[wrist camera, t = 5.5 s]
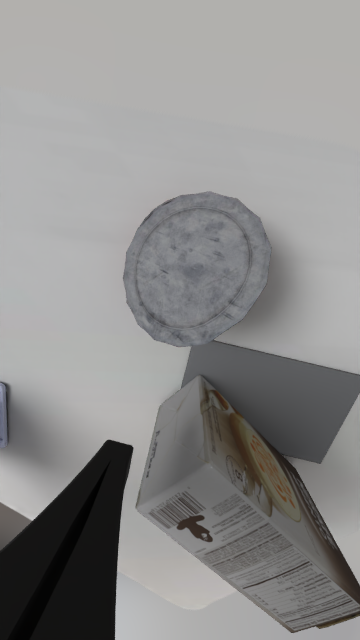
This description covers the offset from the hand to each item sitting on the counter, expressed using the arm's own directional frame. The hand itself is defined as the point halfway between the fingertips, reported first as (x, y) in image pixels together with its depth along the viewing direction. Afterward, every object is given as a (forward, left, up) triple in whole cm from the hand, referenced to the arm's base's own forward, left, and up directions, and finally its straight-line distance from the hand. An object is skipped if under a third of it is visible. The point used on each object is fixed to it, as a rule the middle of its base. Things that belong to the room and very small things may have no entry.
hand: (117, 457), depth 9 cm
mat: (-2, -11, -10) cm, 15 cm away
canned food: (+10, -1, -10) cm, 15 cm away
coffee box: (-2, -3, -5) cm, 6 cm away
